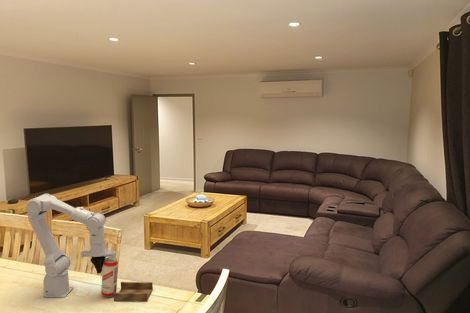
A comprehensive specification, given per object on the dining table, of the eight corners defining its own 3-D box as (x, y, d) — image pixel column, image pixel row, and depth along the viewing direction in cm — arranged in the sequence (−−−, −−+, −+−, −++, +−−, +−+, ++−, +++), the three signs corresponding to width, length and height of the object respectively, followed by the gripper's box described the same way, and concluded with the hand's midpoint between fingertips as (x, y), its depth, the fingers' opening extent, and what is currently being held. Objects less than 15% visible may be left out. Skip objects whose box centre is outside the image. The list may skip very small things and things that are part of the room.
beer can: (111, 299, 151) (113, 264, 148) (98, 296, 152) (99, 261, 149) (119, 292, 157) (121, 258, 154) (106, 289, 158) (108, 255, 156)
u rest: (113, 301, 150) (113, 293, 149) (121, 289, 159) (121, 281, 159) (147, 301, 149) (146, 293, 149) (152, 289, 159) (152, 282, 158)
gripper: (117, 238, 155) (119, 268, 157) (84, 238, 155) (86, 267, 157) (111, 245, 148) (113, 275, 150) (77, 245, 148) (79, 275, 150)
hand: (99, 272), depth 153 cm, fingers closed
